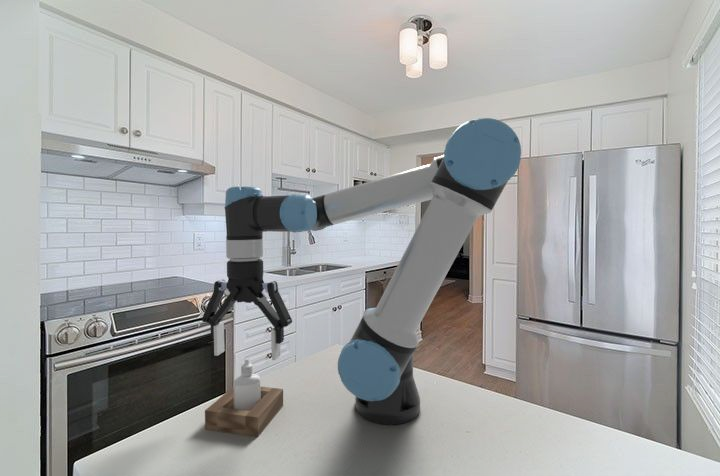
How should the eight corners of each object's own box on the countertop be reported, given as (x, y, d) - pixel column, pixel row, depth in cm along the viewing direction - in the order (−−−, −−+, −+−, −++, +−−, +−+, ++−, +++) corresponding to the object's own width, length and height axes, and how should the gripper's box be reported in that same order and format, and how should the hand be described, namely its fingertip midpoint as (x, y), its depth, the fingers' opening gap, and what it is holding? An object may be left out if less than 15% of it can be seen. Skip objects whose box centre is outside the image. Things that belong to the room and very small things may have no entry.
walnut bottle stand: (283, 405, 81) (283, 389, 81) (258, 436, 69) (258, 417, 69) (236, 400, 83) (236, 383, 83) (205, 429, 72) (204, 410, 72)
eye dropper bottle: (254, 419, 74) (254, 364, 73) (230, 416, 75) (229, 362, 74) (263, 408, 78) (263, 356, 78) (240, 405, 79) (239, 354, 78)
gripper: (305, 258, 76) (307, 353, 77) (205, 256, 81) (207, 345, 82) (292, 261, 69) (294, 366, 69) (182, 260, 74) (185, 358, 75)
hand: (247, 355), depth 76 cm, fingers open, 13 cm apart
